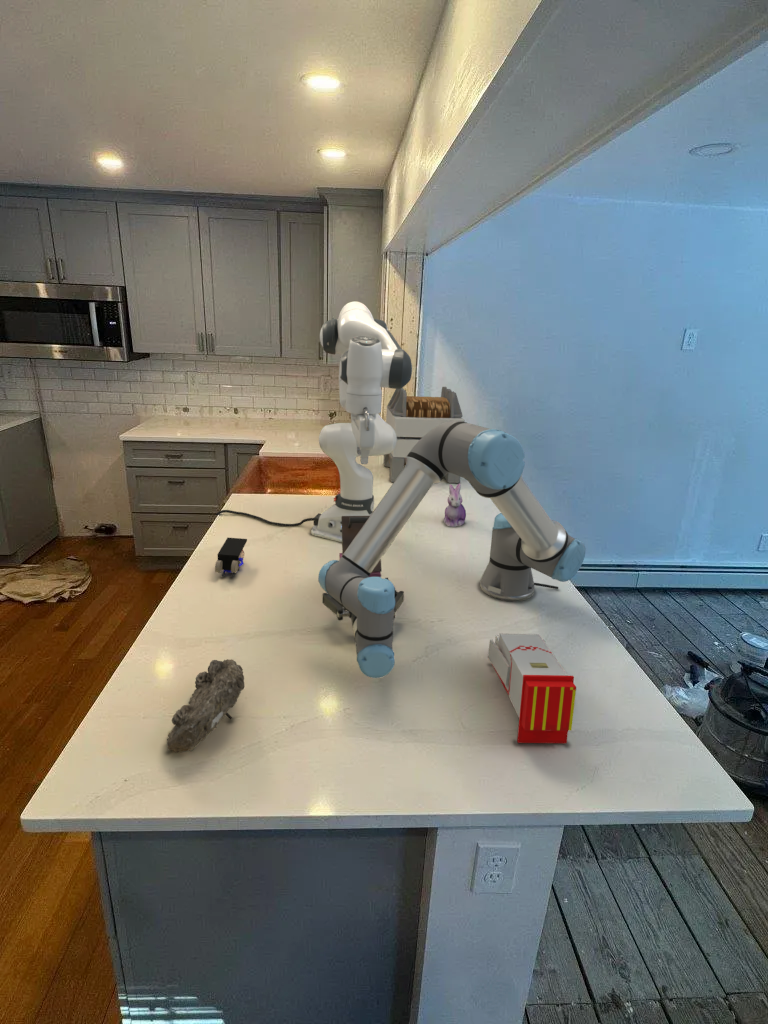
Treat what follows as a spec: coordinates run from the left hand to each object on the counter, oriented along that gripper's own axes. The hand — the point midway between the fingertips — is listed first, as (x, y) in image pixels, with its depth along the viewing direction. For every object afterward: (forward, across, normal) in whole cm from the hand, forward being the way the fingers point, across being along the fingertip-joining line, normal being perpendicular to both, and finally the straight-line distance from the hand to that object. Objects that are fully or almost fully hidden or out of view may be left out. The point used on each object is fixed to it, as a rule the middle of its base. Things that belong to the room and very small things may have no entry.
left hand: (362, 458), depth 146 cm
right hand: (+31, -9, 0) cm, 32 cm away
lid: (+22, -4, 0) cm, 23 cm away
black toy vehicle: (+38, +15, +36) cm, 54 cm away
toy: (+38, -49, -29) cm, 69 cm away
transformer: (+38, +118, -42) cm, 131 cm away
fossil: (+38, -49, +33) cm, 70 cm away
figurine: (+38, +51, -41) cm, 76 cm away
